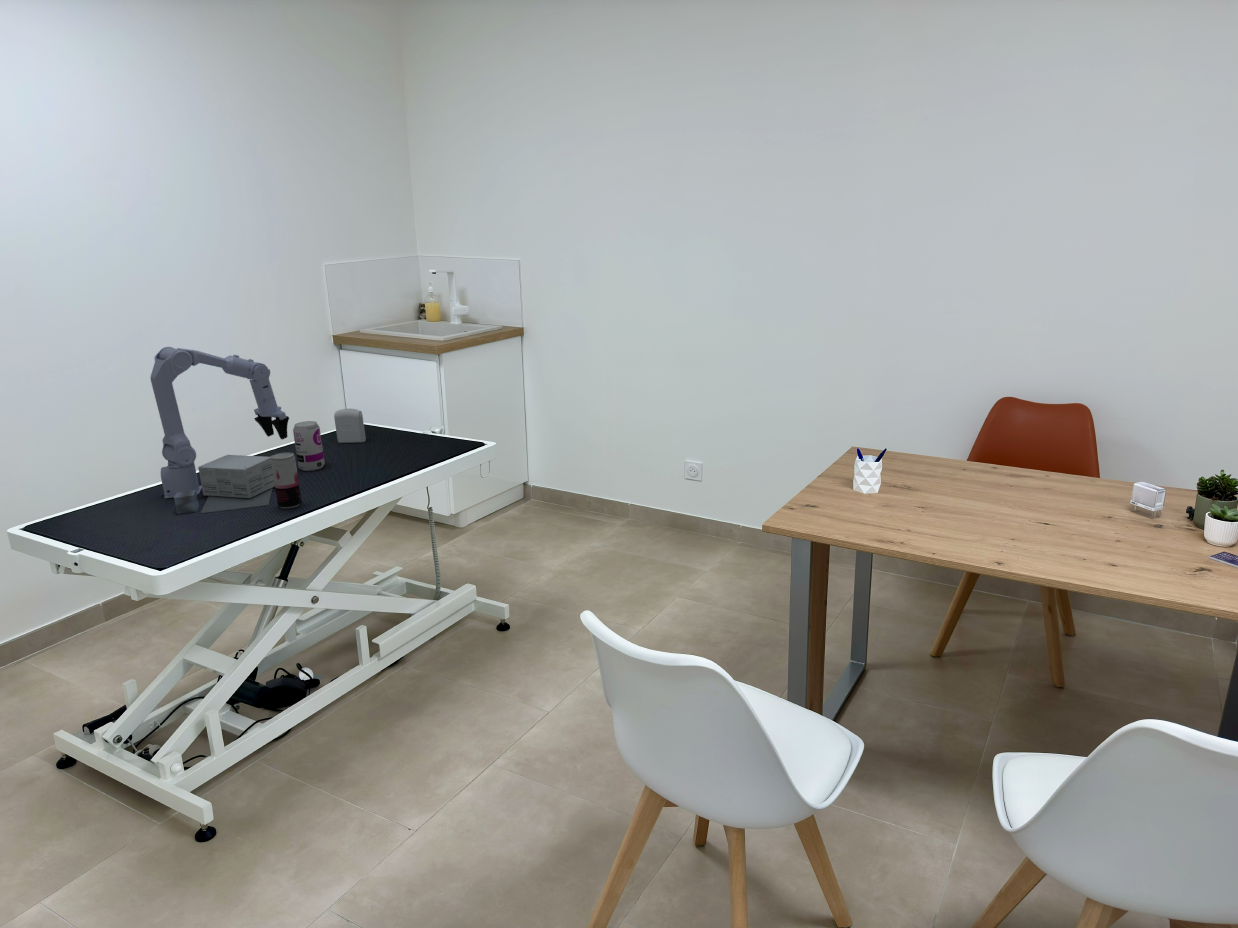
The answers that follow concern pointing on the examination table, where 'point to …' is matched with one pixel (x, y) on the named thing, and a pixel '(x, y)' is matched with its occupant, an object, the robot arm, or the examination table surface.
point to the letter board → (236, 502)
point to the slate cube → (186, 502)
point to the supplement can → (308, 446)
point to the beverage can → (286, 480)
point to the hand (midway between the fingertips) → (277, 436)
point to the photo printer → (349, 426)
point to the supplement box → (236, 476)
